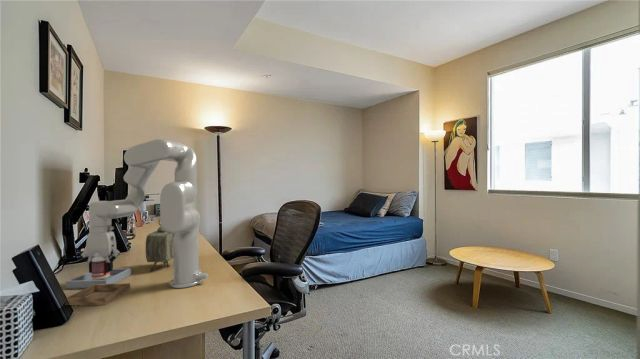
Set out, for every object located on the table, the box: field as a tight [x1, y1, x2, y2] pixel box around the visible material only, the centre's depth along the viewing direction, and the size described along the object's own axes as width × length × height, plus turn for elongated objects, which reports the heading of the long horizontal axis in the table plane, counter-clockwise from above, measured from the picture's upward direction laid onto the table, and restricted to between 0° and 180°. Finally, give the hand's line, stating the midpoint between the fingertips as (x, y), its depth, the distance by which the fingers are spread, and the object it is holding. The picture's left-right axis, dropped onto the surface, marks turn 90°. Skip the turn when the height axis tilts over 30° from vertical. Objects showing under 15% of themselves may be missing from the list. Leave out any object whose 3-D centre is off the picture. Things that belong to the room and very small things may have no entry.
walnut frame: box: [66, 282, 131, 307], centre depth 103 cm, size 14×14×2 cm
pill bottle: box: [92, 253, 110, 279], centre depth 120 cm, size 6×6×11 cm
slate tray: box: [65, 268, 132, 290], centre depth 120 cm, size 16×16×3 cm
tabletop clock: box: [144, 218, 175, 271], centre depth 140 cm, size 14×9×25 cm, turn 178°
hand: (101, 271), depth 120 cm, fingers closed on pill bottle, 6 cm apart
